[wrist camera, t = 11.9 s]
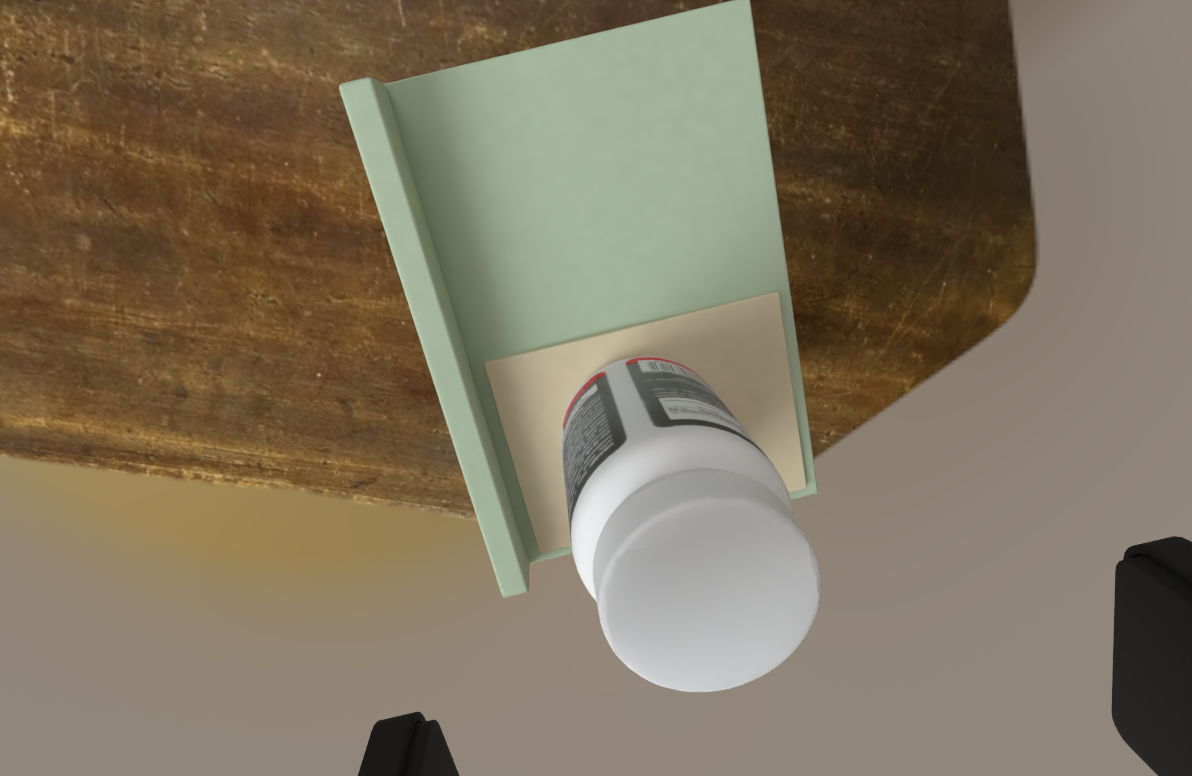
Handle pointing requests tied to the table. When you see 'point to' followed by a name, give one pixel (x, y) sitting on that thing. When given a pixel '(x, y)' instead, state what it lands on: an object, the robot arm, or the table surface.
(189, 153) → the table surface
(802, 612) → the pill bottle
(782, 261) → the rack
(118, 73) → the table surface
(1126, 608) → the robot arm
